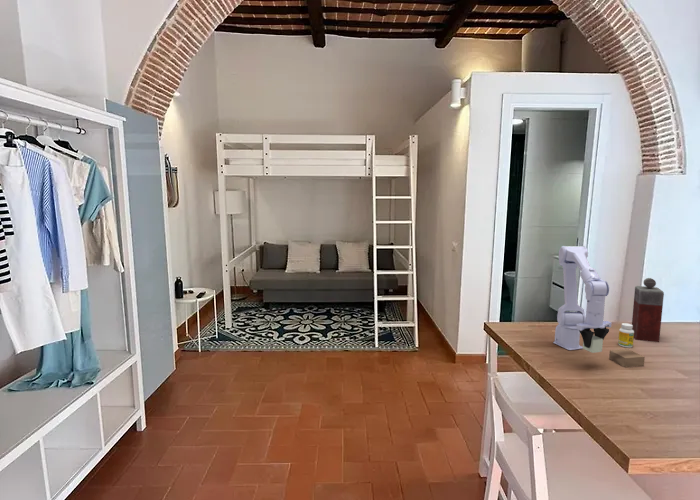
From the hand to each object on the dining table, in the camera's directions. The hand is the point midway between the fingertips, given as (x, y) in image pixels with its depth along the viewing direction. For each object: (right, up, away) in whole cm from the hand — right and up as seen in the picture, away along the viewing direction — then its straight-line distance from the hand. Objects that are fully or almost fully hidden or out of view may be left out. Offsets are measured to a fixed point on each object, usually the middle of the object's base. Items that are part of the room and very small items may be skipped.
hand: (592, 346), depth 153 cm
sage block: (0, -1, 0) cm, 2 cm away
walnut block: (+16, -8, +4) cm, 18 cm away
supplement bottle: (+28, -5, +22) cm, 35 cm away
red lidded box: (+43, -4, +32) cm, 54 cm away
